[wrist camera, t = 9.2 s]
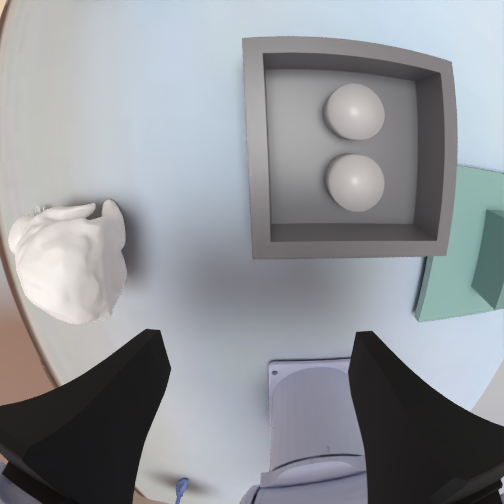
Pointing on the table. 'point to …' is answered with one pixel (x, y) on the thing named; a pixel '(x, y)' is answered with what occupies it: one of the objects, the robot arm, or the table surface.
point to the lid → (468, 252)
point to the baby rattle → (180, 492)
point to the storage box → (348, 149)
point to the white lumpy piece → (71, 260)
